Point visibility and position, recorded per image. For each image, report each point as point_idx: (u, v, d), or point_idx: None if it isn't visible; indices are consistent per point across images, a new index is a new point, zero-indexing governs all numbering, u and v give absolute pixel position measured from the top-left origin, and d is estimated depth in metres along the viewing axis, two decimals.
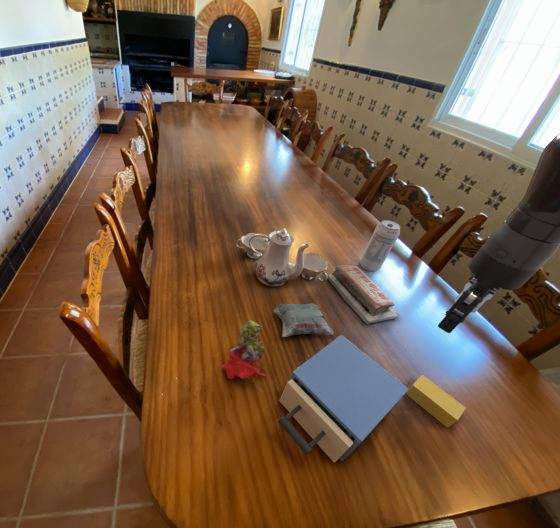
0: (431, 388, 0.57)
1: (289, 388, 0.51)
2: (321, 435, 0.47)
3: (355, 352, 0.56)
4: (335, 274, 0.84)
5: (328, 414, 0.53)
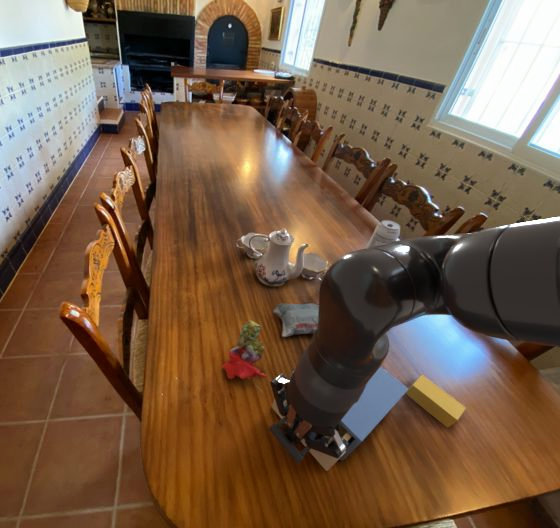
0: (431, 388, 0.57)
1: None
2: None
3: None
4: None
5: None
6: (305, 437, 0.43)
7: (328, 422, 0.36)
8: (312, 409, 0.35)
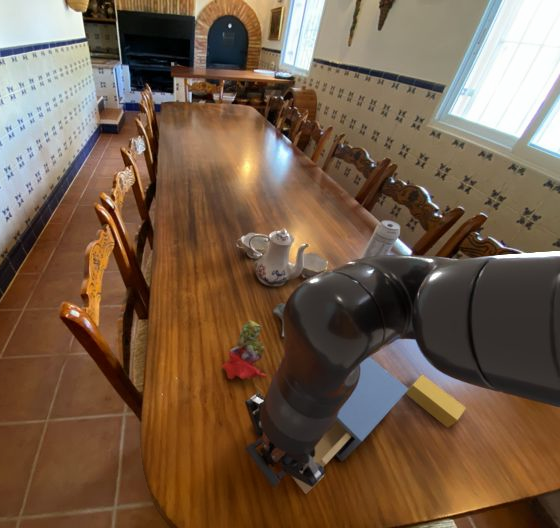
0: (431, 388, 0.57)
1: None
2: None
3: None
4: None
5: None
6: (281, 461, 0.41)
7: (300, 450, 0.33)
8: (282, 437, 0.32)
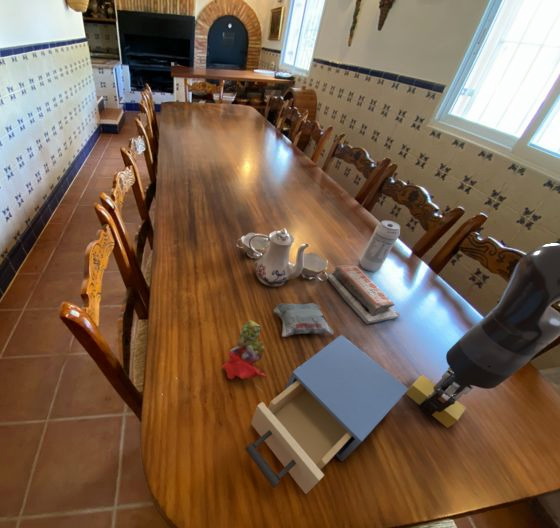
0: (431, 388, 0.57)
1: (259, 412, 0.48)
2: (291, 465, 0.44)
3: (355, 352, 0.56)
4: (335, 274, 0.84)
5: (302, 439, 0.50)
6: None
7: None
8: None
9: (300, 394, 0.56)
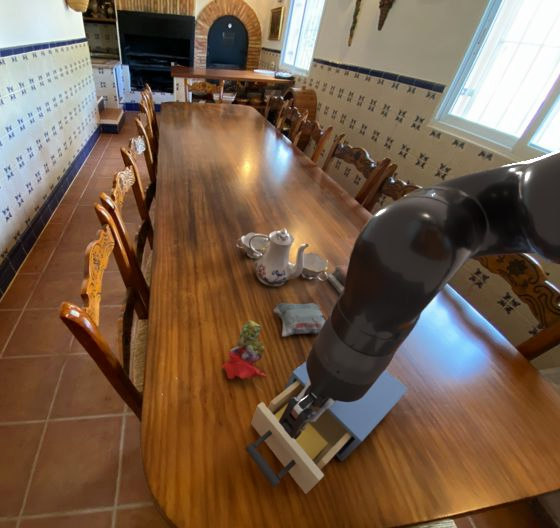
0: None
1: (259, 412, 0.48)
2: (291, 465, 0.44)
3: None
4: (335, 274, 0.84)
5: None
6: None
7: None
8: None
9: None
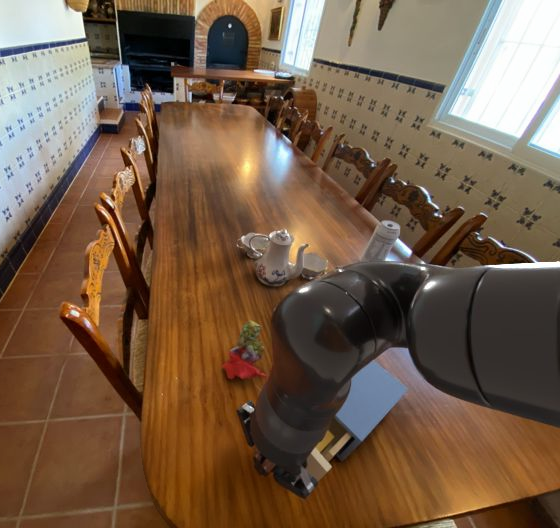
0: None
1: None
2: None
3: None
4: None
5: None
6: (273, 471, 0.40)
7: (291, 462, 0.32)
8: (273, 448, 0.31)
9: None
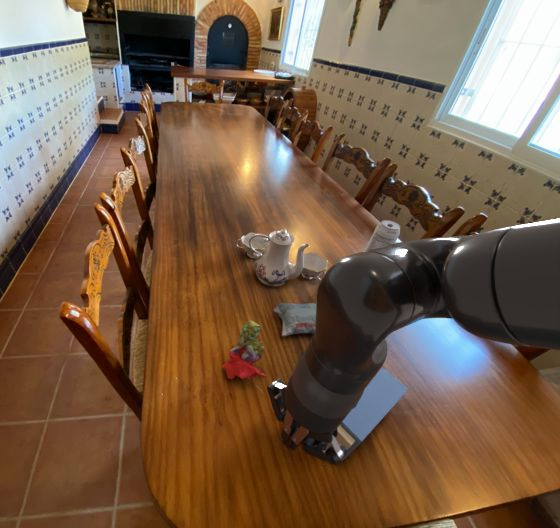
0: None
1: None
2: None
3: None
4: None
5: None
6: (302, 443, 0.43)
7: (326, 428, 0.35)
8: (309, 415, 0.34)
9: None
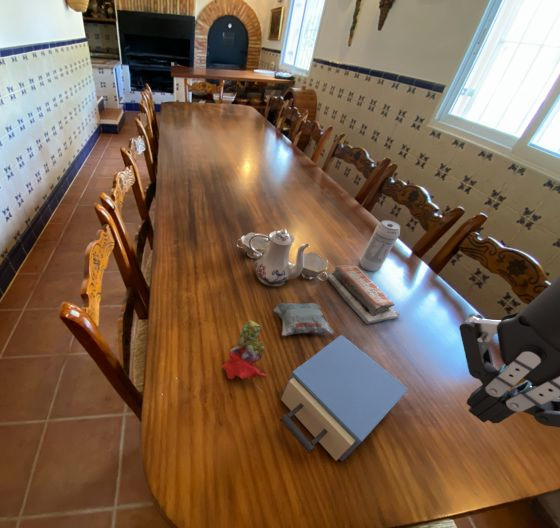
0: None
1: (291, 386, 0.52)
2: (323, 433, 0.47)
3: (355, 352, 0.56)
4: (335, 274, 0.84)
5: None
6: (531, 409, 0.27)
7: None
8: None
9: None
